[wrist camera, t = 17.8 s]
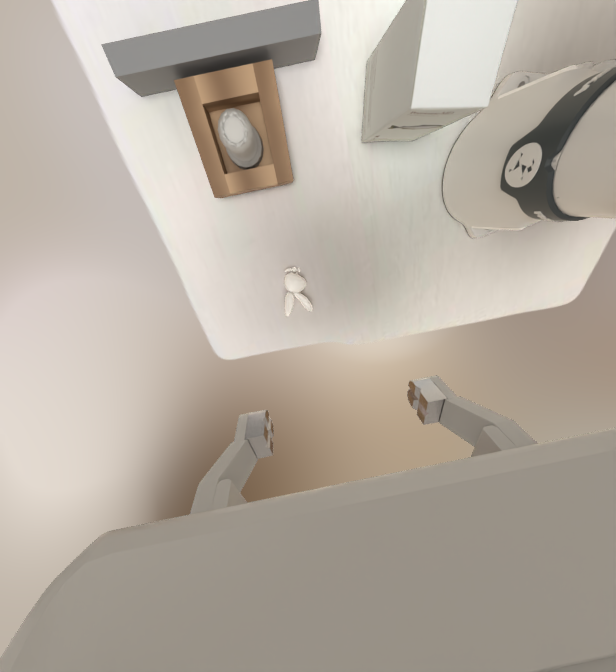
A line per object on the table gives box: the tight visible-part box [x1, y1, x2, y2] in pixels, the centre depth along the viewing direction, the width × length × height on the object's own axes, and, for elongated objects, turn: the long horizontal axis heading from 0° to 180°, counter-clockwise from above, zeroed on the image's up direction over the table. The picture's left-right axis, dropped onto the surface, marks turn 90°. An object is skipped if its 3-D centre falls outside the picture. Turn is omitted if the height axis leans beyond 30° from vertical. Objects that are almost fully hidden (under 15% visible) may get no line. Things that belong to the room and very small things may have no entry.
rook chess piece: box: [218, 108, 264, 170], centre depth 23 cm, size 4×4×8 cm
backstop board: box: [101, 0, 321, 97], centre depth 22 cm, size 20×2×4 cm, turn 100°
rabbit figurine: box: [284, 267, 313, 317], centre depth 36 cm, size 6×4×8 cm
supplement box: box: [362, 0, 518, 143], centre depth 22 cm, size 7×7×13 cm
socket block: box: [174, 59, 293, 198], centre depth 26 cm, size 10×10×4 cm
